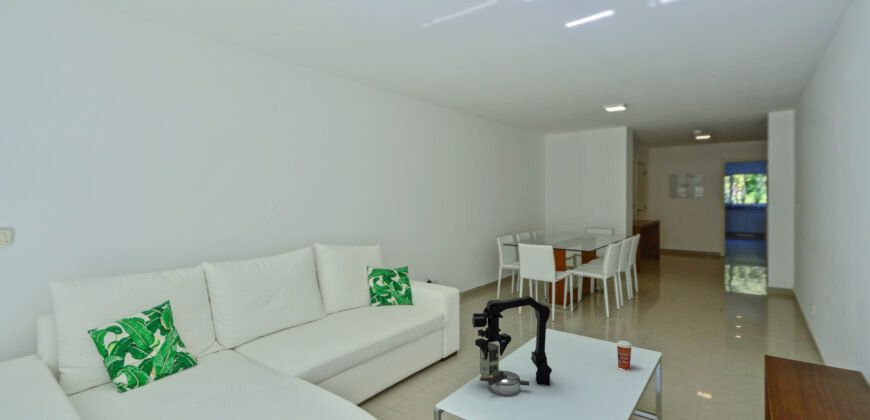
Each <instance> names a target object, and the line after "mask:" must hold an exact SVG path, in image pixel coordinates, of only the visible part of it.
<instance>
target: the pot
mask: <svg viewBox="0 0 870 420" xmlns="http://www.w3.org/2000/svg"><path fill="white" fill-rule="evenodd" d="M479 381H480V382H487V383H488V376H484V375H481V376H480V378H479ZM521 386H526V387H527V386H529V387H530V381H529V380H521V379H520V381H519V382H518V383H517V384H514V385H499V384H496V383H495V384H493V385H488V390H489V391H490V393H491V394H493V395H496V396H499V397H504V398H506V397H507V398H508V397H510V398H511V397H514V396H515V397H516V396H518V395H519V394H520V393H521Z"/></svg>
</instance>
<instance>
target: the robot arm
mask: <svg viewBox="0 0 870 420" xmlns="http://www.w3.org/2000/svg"><path fill="white" fill-rule="evenodd" d="M525 306H530V307H531V308H533V309H534V315H535V318H536V334H535V335H536V336H535V339H536V340H535V349H534V351H531V357H530V360H531V361H532V363H533V365H534V366H535V367H536V371H535V382H536V385H541V386H550V387H551V374H552V373H553V369H552V368H551V366H549V364H548V357H547V355H546V339H547V338H546V336H547V334H546V333H547V323H548V321H549V319H550V314H551V308H550V307H549V306H547V305H546V304H545V303H543V302H538V301H537V300H536V299H534V298H533V297H531V296H530V295H525V296H520V297H516V298H510V299H504V300H499V299H490V300H488V301H487V302H486V306H485V308H484V309H483V311H482V312H481V313H479V312H478V313H477V312H473V313H472V318H471V319H472V320H471V322H472V323H471V324H472V328H480V329H478V330H477V335H478V337H481V338H476V340H475V341H474V345H475V346H476V347H478V348H479V349H480V348H481V349H482V351H483V354H484V357H485V359H486V360H487V358H488V351H489V347H488V344H489V343H492V344H494V343H496V342H498V344H499V356H501V357H502V356H503V355H504V353H505V350H506V349H507V347H508V345H509V344H510V343H511V342H512V336H511V335H509V334H507V333H506V332H505V333H500V332H501V331H502V329H501V328H500V319H503V318H504V315H502V314H501V313H502V312H504V311H507V310H509V309H514V308H521V307H525ZM486 326H487V327H486ZM483 328H485V330H484V329H483ZM484 338H485V339H484Z"/></svg>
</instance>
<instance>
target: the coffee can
mask: <svg viewBox="0 0 870 420" xmlns="http://www.w3.org/2000/svg"><path fill="white" fill-rule="evenodd" d="M488 347H489V351H488V358H487V360H486V359H485V357H484V354H483V351H482V349H481V348H480V347H479V373H480V375H482V374H483V375H482V376H485V377H488V376H490V374H491V373H493V372H495V371H500V370H499V369H500V366H499V365H500V363H499V362H500V360H499V359H500V357H499V356H500V345H498V344H495V343H489V344H488Z"/></svg>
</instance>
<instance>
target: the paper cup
mask: <svg viewBox="0 0 870 420" xmlns="http://www.w3.org/2000/svg"><path fill="white" fill-rule="evenodd" d="M616 347H617V364H618V369H619V368H622V369H629V370H630V369H631V356H632V347H633V345H632V343H631V342H629V341H627V340H618V341H617V343H616Z"/></svg>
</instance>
